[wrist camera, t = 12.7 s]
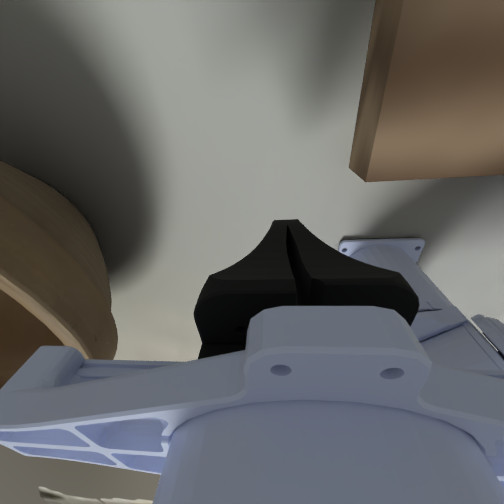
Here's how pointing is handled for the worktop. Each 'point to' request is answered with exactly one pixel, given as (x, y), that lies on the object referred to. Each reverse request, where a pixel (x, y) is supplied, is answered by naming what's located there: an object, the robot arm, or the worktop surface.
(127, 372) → the robot arm
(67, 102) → the worktop surface
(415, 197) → the worktop surface
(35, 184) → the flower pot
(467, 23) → the walnut board
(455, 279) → the worktop surface
